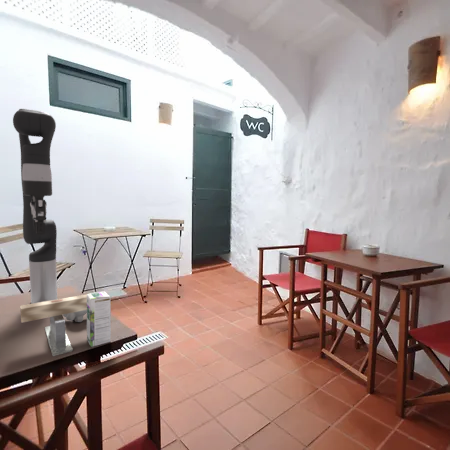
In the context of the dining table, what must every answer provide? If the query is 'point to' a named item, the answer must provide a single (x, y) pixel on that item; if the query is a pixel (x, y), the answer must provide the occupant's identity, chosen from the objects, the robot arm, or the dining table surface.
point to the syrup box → (98, 318)
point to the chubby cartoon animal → (75, 316)
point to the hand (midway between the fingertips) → (39, 232)
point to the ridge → (58, 336)
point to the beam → (53, 308)
